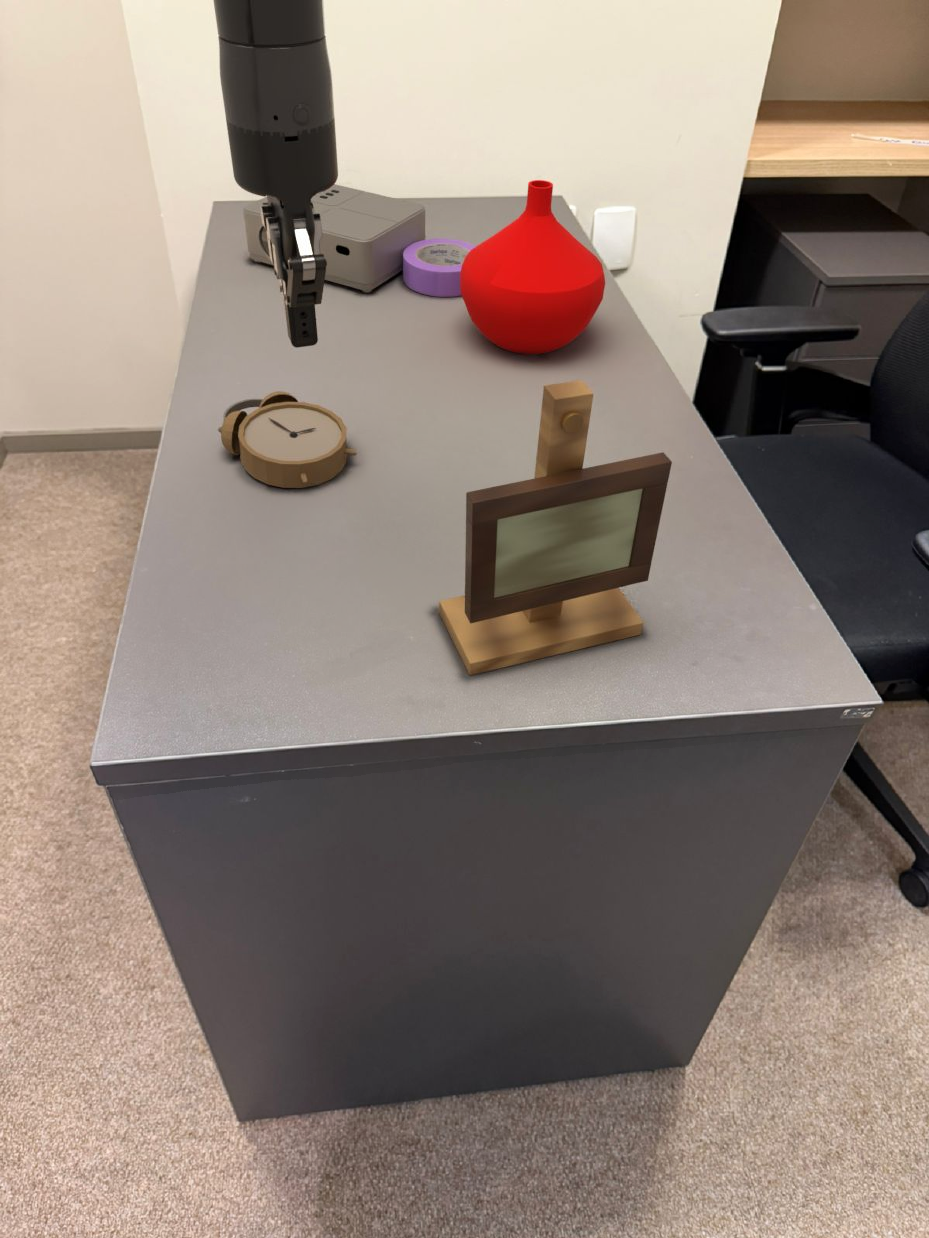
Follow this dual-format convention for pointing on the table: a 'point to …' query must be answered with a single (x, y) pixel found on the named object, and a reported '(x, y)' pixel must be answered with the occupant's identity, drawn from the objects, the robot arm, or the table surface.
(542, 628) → the stand
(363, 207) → the projector
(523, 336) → the vase
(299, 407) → the alarm clock
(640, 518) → the frame
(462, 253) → the tape roll
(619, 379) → the table surface
